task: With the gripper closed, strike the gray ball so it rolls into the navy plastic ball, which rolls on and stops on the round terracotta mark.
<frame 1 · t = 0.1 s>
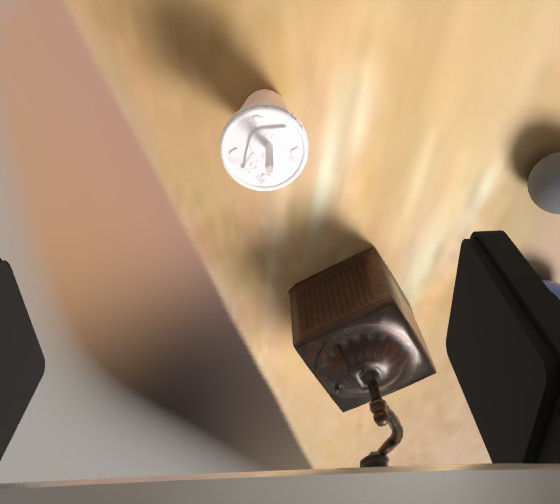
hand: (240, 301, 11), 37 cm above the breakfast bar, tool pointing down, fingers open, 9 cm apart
object ball: (545, 306, 55), on the breakfast bar
brown coffee grinder: (360, 316, 59), on the breakfast bar
smoothie: (264, 110, 46), on the breakfast bar
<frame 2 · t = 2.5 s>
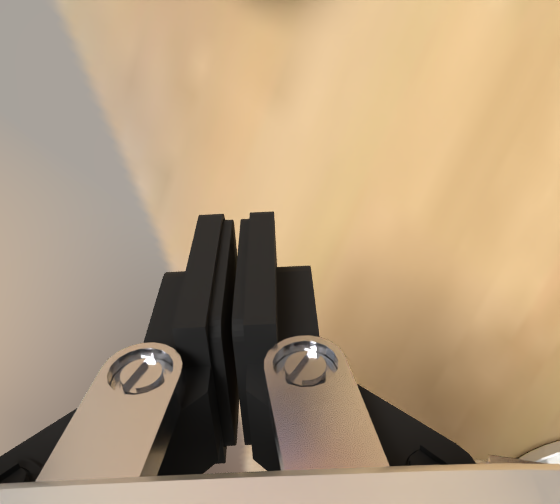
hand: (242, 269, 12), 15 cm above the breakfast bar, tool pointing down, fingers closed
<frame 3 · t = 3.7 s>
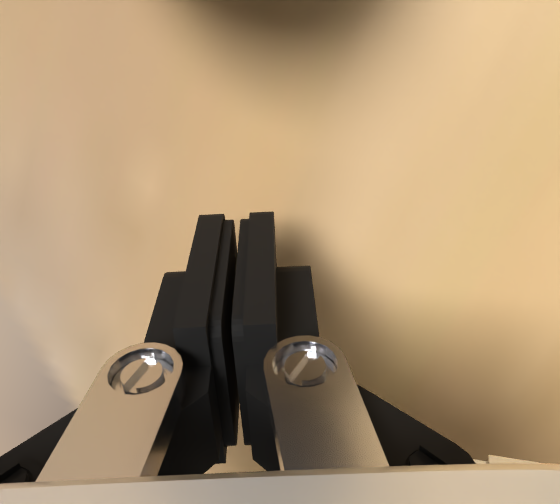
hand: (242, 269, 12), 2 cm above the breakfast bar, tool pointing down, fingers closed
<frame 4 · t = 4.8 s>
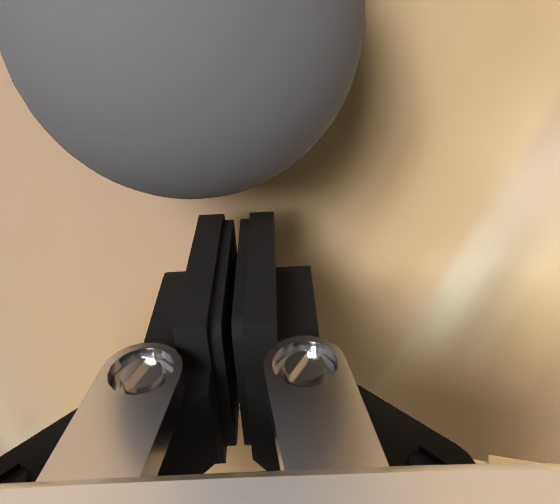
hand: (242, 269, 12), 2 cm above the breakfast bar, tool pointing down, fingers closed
gray ball: (188, 23, 8), on the breakfast bar
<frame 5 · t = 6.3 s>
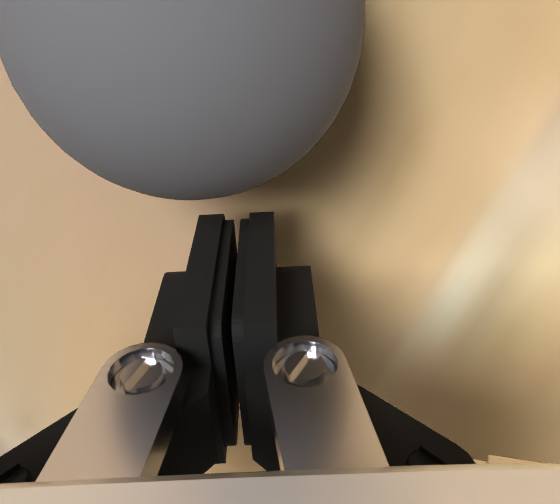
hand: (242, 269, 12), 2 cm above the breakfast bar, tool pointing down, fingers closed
gray ball: (187, 23, 8), on the breakfast bar
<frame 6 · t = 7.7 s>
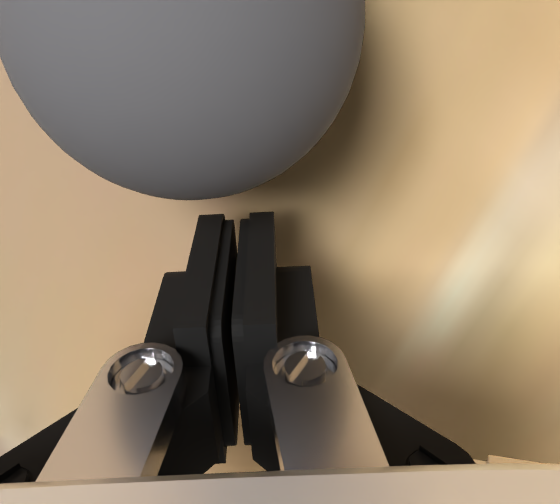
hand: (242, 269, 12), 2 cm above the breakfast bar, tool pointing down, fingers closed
gray ball: (187, 23, 8), on the breakfast bar
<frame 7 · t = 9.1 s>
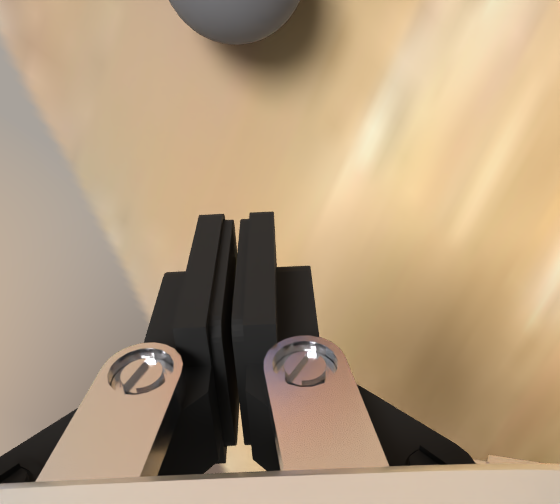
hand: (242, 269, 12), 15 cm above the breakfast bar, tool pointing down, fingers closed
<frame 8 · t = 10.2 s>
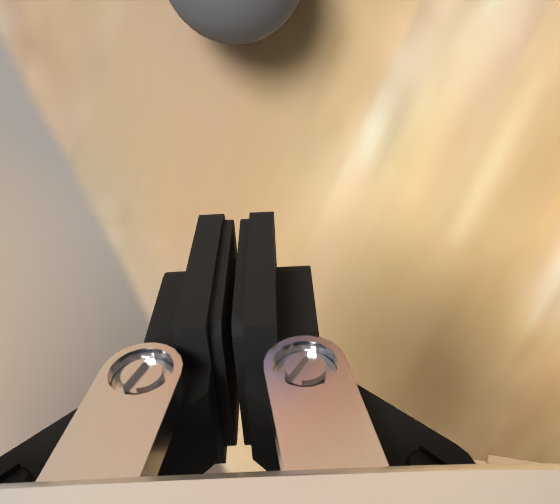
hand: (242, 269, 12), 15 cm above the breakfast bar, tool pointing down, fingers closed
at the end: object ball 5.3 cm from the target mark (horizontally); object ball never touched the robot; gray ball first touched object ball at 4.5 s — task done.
